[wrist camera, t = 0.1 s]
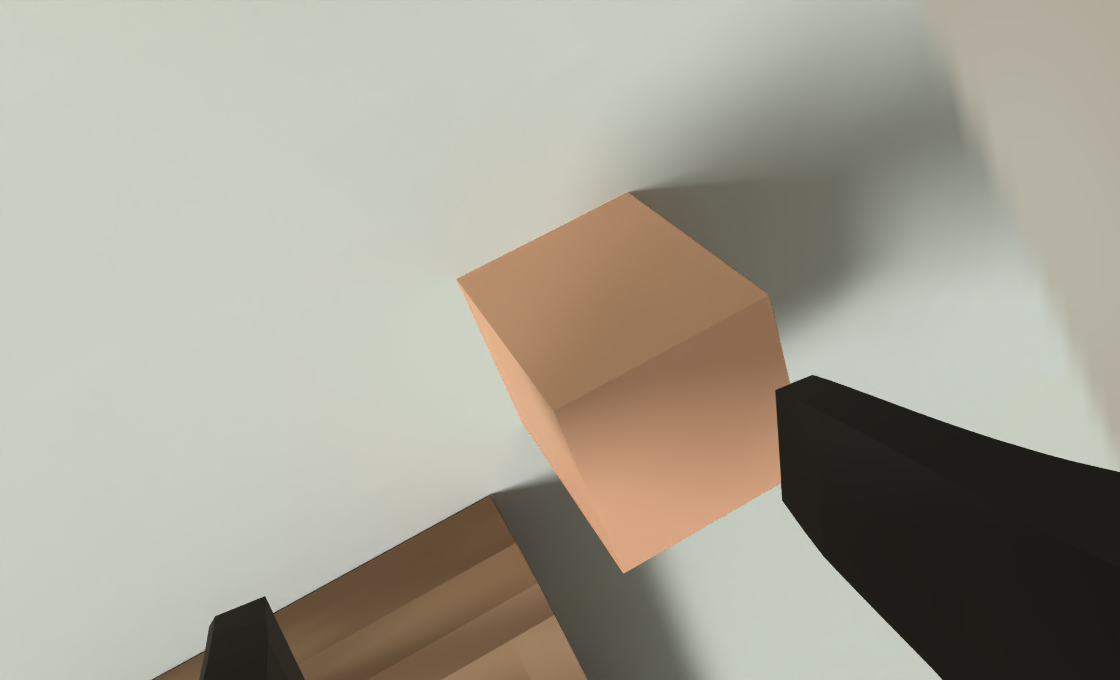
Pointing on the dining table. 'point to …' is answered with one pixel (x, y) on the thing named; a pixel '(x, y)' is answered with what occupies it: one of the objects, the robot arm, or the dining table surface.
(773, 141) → the dining table surface
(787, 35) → the dining table surface
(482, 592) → the wooden tray
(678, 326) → the terracotta block
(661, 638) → the dining table surface
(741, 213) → the dining table surface
